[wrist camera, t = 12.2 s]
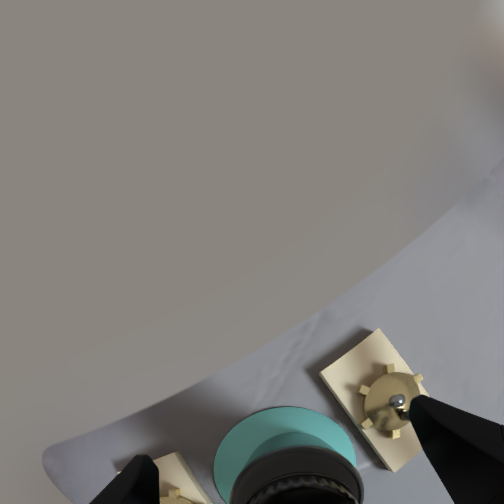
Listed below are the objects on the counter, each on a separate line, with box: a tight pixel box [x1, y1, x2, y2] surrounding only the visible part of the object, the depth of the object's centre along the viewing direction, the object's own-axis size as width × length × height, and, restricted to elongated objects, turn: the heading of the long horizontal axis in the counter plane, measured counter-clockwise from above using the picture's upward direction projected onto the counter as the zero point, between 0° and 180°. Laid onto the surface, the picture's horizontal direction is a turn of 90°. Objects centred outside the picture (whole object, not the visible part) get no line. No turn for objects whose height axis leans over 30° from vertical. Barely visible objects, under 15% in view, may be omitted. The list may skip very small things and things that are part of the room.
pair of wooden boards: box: [117, 328, 430, 504], centre depth 16 cm, size 25×11×1 cm, turn 121°
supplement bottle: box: [229, 432, 364, 504], centre depth 11 cm, size 7×7×12 cm
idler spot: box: [214, 407, 356, 504], centre depth 17 cm, size 11×11×1 cm
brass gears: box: [160, 363, 423, 504], centre depth 14 cm, size 25×6×3 cm, turn 121°
